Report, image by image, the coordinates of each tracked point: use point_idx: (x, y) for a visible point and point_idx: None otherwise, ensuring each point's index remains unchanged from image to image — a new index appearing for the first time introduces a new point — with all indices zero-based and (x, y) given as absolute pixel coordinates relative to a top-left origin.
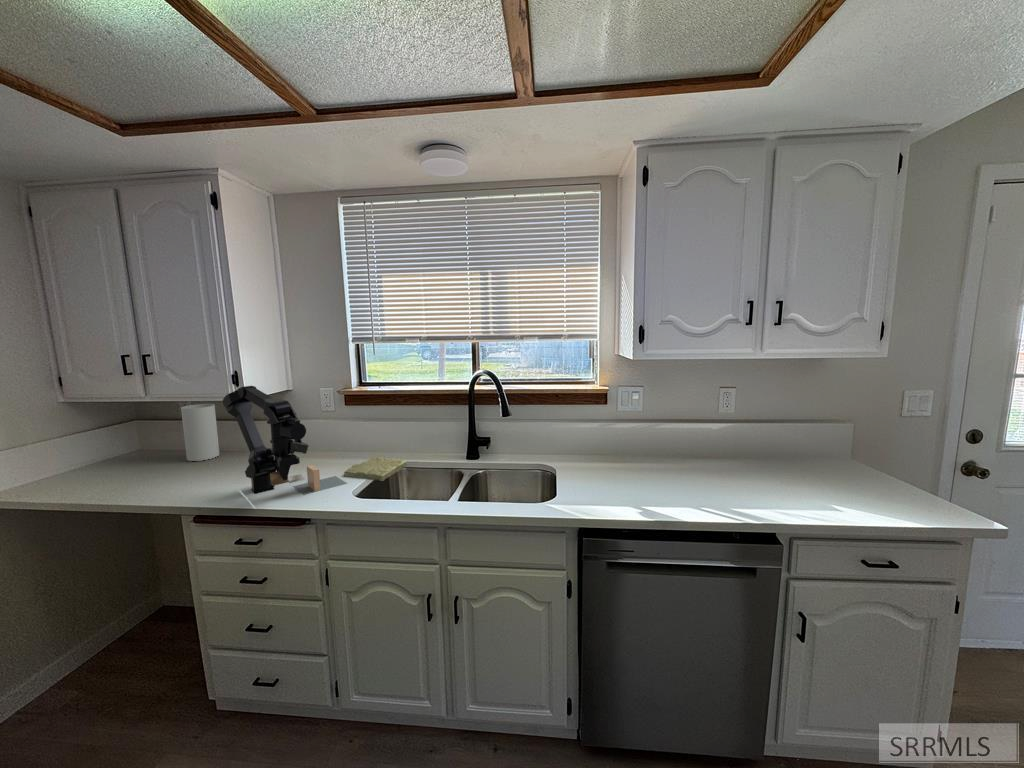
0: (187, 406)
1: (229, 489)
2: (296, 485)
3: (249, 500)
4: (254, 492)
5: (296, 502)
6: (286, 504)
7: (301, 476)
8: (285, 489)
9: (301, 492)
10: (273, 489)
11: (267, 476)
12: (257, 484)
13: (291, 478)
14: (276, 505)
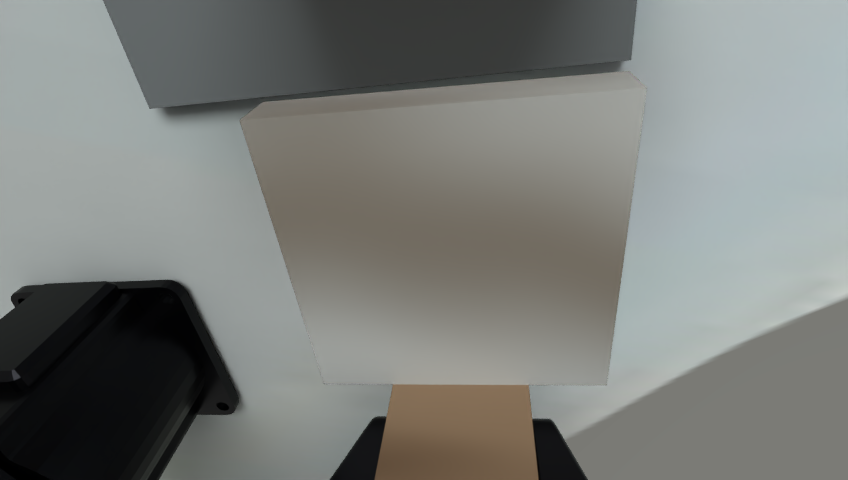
0: None
1: None
2: (132, 60)
3: (349, 441)
4: (204, 411)
5: (769, 182)
6: (719, 275)
7: (474, 131)
8: (195, 188)
9: (495, 63)
10: (180, 295)
11: (71, 464)
12: (158, 459)
13: (465, 327)
14: (652, 342)
